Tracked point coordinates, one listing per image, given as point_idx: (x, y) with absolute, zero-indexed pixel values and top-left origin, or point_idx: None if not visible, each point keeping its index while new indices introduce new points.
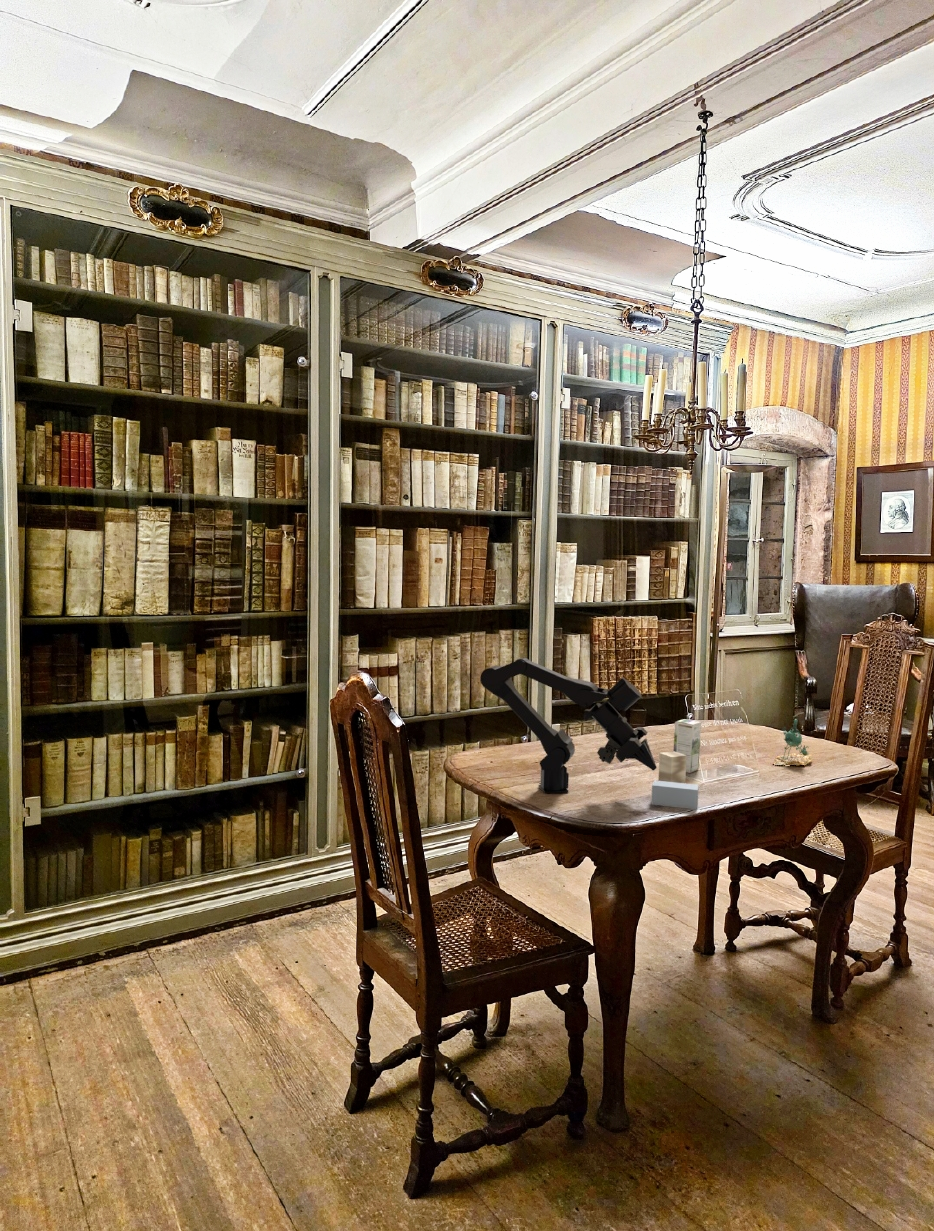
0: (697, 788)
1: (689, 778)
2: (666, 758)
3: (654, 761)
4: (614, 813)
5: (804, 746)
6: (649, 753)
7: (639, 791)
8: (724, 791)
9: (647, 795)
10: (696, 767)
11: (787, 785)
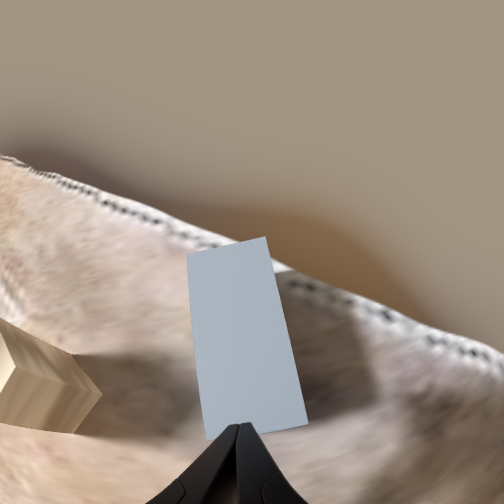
0: (242, 243)
1: None
2: (12, 393)
3: (211, 444)
4: (472, 458)
5: None
6: (276, 486)
7: None
8: (74, 259)
9: None
10: None
11: (36, 188)
